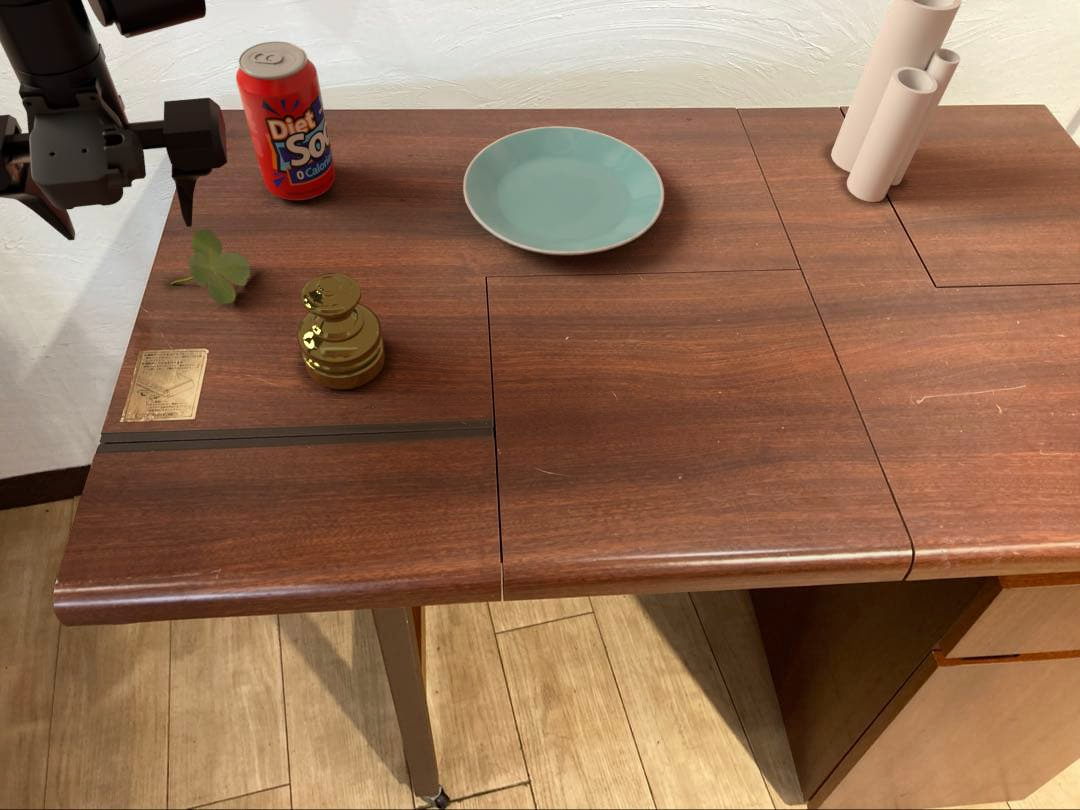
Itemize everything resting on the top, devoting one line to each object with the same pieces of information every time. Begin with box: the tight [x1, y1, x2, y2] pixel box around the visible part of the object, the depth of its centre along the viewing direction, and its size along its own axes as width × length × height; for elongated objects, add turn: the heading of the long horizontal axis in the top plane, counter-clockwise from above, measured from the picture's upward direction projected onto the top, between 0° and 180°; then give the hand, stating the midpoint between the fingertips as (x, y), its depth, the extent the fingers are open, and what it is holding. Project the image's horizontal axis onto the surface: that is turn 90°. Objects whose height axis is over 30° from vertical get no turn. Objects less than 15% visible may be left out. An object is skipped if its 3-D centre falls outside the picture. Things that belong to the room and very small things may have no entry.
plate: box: [462, 125, 665, 256], centre depth 90 cm, size 22×22×3 cm
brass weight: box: [296, 272, 386, 390], centre depth 72 cm, size 7×7×10 cm
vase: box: [830, 0, 962, 203], centre depth 90 cm, size 11×7×20 cm, turn 8°
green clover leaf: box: [170, 229, 251, 305], centre depth 80 cm, size 7×8×7 cm
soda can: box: [235, 41, 336, 201], centre depth 85 cm, size 8×8×15 cm
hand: (131, 230), depth 68 cm, fingers open, 9 cm apart
